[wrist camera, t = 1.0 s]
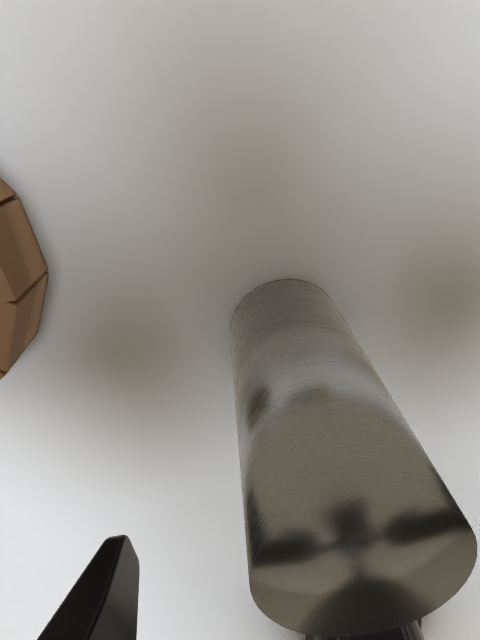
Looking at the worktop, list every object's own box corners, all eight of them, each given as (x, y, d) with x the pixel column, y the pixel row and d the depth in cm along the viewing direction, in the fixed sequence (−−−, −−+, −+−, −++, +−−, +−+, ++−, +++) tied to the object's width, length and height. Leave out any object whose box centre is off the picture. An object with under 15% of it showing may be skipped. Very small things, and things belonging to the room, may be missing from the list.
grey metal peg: (342, 366, 16) (467, 618, 8) (240, 384, 16) (266, 651, 8) (335, 269, 14) (488, 473, 6) (220, 290, 15) (230, 517, 7)
